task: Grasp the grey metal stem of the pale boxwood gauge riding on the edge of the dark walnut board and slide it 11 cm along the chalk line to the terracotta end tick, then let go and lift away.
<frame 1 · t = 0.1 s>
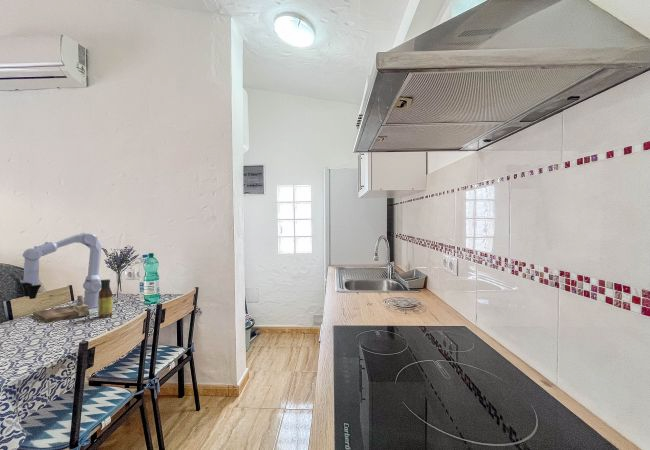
hand: (30, 297, 163), 10 cm above the table, fingers open, 7 cm apart
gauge: (80, 305, 169), point 5 cm above the table, slide at 0.0 cm
board: (61, 315, 167), on the table
yellow labelled brown bottle: (105, 316, 168), on the table
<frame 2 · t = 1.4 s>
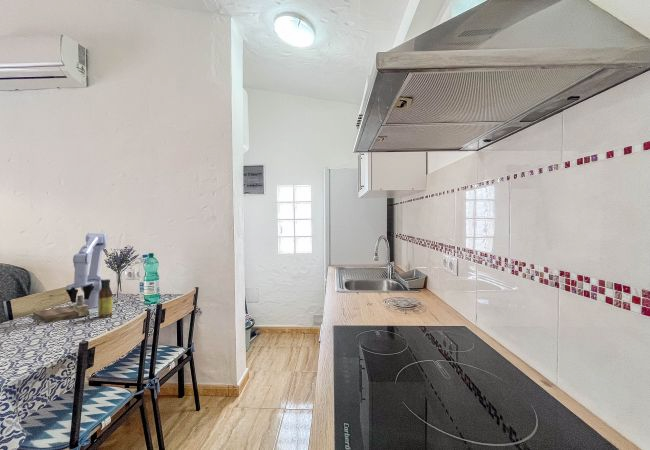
hand: (80, 300, 169), 8 cm above the table, fingers open, 7 cm apart
nothing on the table moved.
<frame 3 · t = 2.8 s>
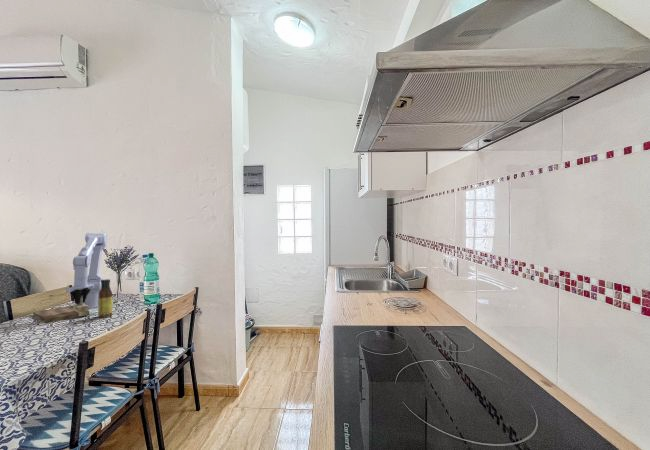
hand: (80, 303, 169), 6 cm above the table, fingers closed on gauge, 2 cm apart
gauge: (80, 305, 169), point 5 cm above the table, slide at 0.0 cm, touching gripper
everything else where it was.
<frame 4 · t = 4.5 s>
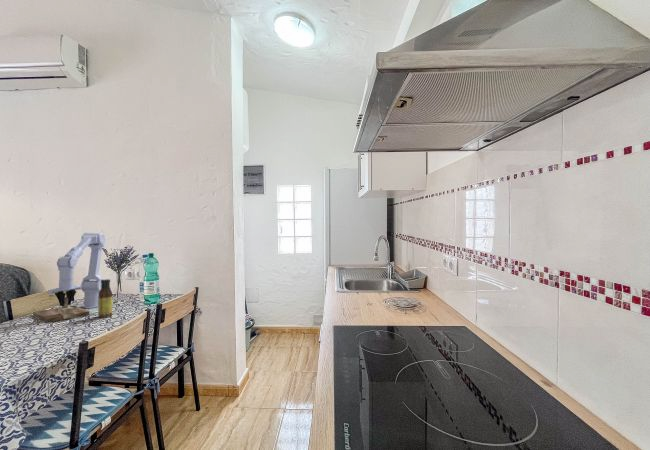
hand: (65, 305, 164), 6 cm above the table, fingers closed on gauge, 2 cm apart
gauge: (65, 307, 163), point 5 cm above the table, slide at 6.5 cm, touching gripper
everything else where it was.
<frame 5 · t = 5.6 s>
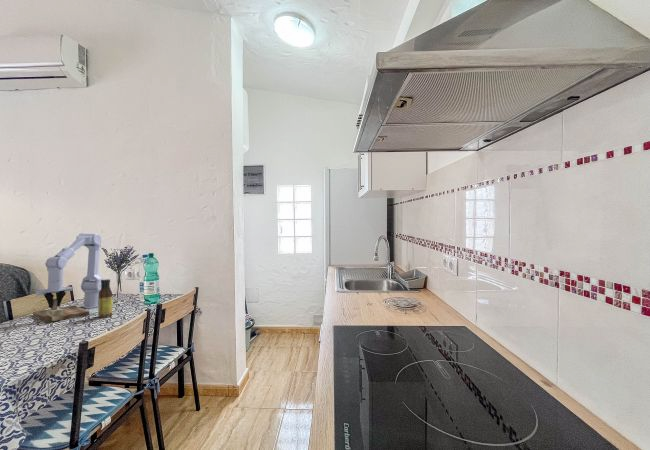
hand: (54, 306, 160), 6 cm above the table, fingers closed on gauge, 2 cm apart
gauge: (54, 309, 159), point 5 cm above the table, slide at 10.9 cm, touching gripper
everything else where it was.
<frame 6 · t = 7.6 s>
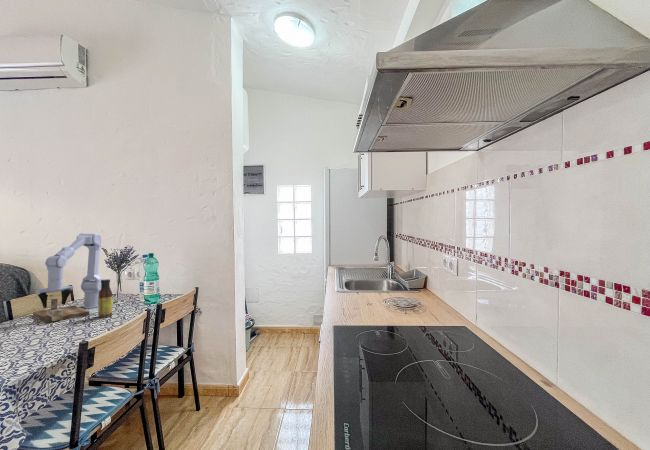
hand: (54, 306, 160), 7 cm above the table, fingers open, 7 cm apart
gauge: (54, 309, 159), point 5 cm above the table, slide at 11.0 cm
everything else where it was.
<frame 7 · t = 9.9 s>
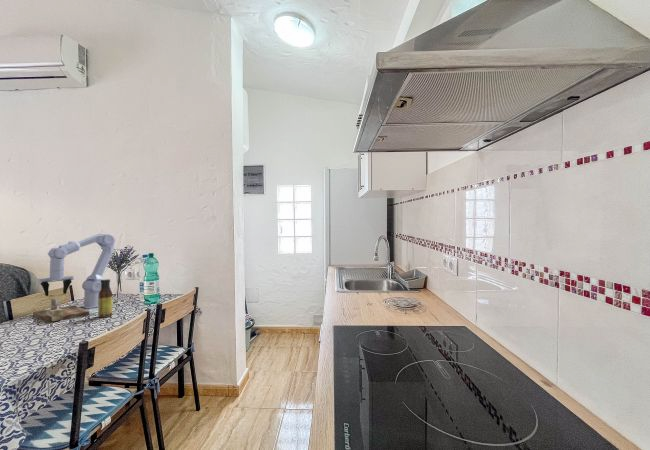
hand: (55, 294, 170), 10 cm above the table, fingers open, 7 cm apart
nothing on the table moved.
at the end: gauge slide at 11.0 cm; the gripper is holding nothing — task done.
